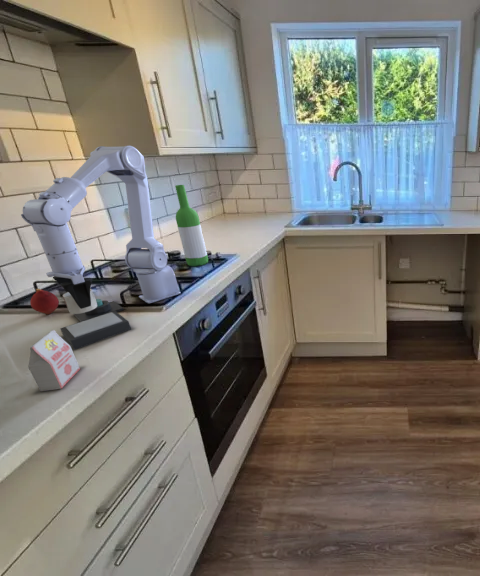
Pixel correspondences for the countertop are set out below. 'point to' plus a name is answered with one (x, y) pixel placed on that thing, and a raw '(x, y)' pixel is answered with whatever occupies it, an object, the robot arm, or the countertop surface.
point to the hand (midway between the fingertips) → (81, 303)
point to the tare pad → (99, 311)
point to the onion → (44, 301)
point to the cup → (74, 307)
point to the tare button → (99, 302)
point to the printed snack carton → (52, 362)
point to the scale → (95, 329)
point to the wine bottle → (190, 231)
